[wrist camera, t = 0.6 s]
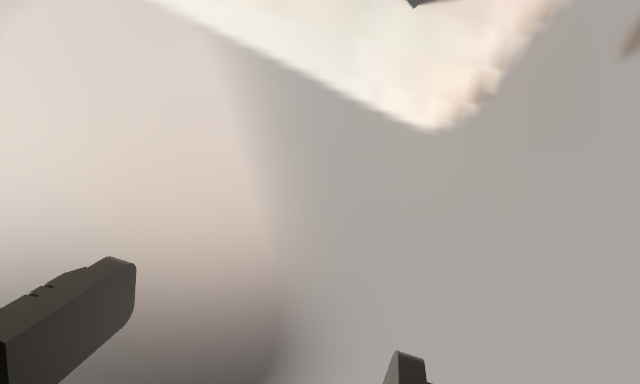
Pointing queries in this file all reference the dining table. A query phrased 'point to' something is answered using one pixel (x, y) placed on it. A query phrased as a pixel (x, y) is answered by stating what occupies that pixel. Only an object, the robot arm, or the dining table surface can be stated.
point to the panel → (413, 2)
